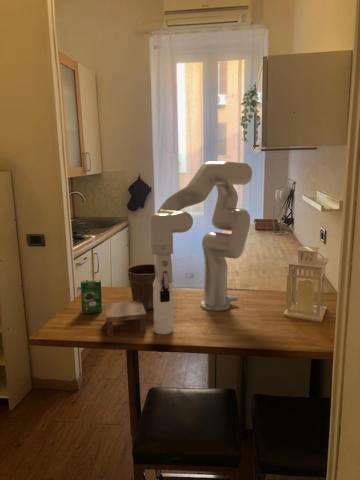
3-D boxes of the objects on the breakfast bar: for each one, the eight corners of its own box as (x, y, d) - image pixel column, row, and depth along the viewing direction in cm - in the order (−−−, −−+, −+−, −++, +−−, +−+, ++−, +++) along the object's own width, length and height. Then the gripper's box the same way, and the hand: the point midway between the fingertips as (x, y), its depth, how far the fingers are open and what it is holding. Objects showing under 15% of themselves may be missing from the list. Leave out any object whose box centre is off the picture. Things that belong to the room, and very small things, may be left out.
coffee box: (101, 309, 159) (100, 279, 156) (102, 311, 156) (101, 281, 154) (81, 312, 156) (79, 281, 154) (82, 314, 153) (80, 283, 151)
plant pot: (121, 310, 158) (120, 272, 155) (137, 297, 173) (136, 262, 170) (158, 314, 153) (157, 275, 150) (171, 300, 168) (170, 265, 165)
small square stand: (141, 317, 150) (141, 300, 149) (146, 332, 137) (146, 313, 136) (105, 320, 147) (104, 303, 146) (107, 336, 134) (106, 317, 132)
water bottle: (154, 326, 141) (153, 261, 136) (173, 326, 141) (173, 261, 136) (152, 335, 134) (151, 266, 129) (172, 335, 134) (172, 267, 129)
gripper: (178, 254, 124) (178, 305, 128) (167, 243, 141) (168, 289, 144) (155, 255, 123) (156, 307, 126) (147, 244, 139) (148, 291, 143)
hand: (162, 297), depth 135 cm, fingers closed on water bottle, 6 cm apart
